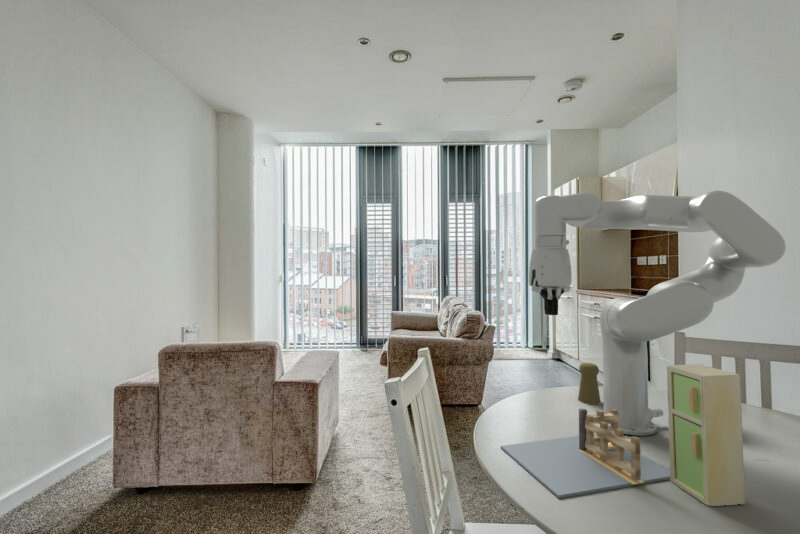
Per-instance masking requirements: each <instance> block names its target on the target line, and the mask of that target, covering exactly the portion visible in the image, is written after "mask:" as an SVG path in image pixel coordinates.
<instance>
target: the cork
mask: <svg viewBox="0 0 800 534" xmlns="http://www.w3.org/2000/svg"><path fill="white" fill-rule="evenodd" d="M578 372H580V373H579V374H580V381H579V389H578V396H577V397H578V398H577V401H578V402H580V401H581V403H583V402H584V403H583V404H586V403H588V405H600V404H601V395H600V390H599V383H598V382H599V381H598V374H599V372H600V370H599V366H598V365H596V364H594V363H591V362H582V363H581V364H580V365H579V367H578ZM599 403H600V404H599Z"/></svg>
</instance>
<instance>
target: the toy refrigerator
mask: <svg viewBox="0 0 800 534" xmlns="http://www.w3.org/2000/svg"><path fill="white" fill-rule="evenodd" d="M666 381H667V382H666V383H667V404H668V405H667V407H668V408H667V411H668V442H669V443H668V445H669V469H670V477H671V479H670V482H671V483H673V484H674V485H676V486H677V487H679V488H680V489H682V490H683V491H685V492H686V493H688V494H689V495H691V496H692V497H694V498H695V499H697V500H698V501H700V502H701V503H703V504H704V505H706V506H707V507H721V506H722V507H723V506H724V505H726V506H738V504H740V505H745V504H746V494H745V493H746V491H745V487H746V486H745V467H744V466H745V465H744V464H745V463H744V440H743V439H744V438H743V437H744V435H743V415H742V413H743V412H742V411H743V409H742V388H741V387H742V386H741V384H742V381H741V376H740V374H738V373H735V372H731V371H728V370H723V369H720V368H715V367H711V366H707V365H705V364H698V363H697V364H696V363H694V364H672V365H670V364H669V365H667V366H666Z"/></svg>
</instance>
